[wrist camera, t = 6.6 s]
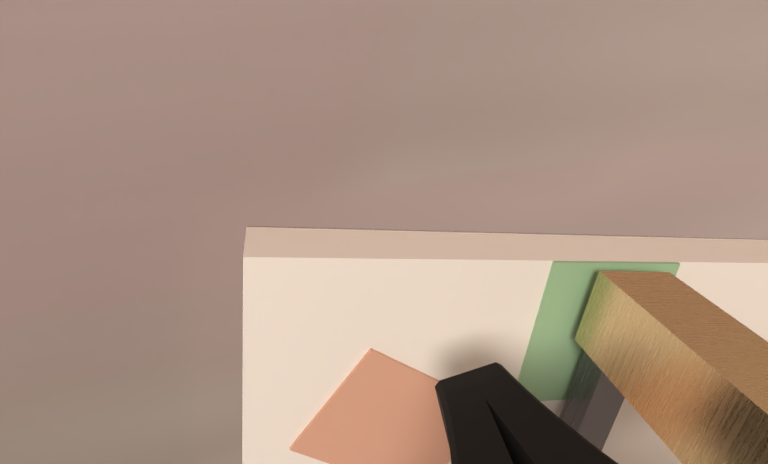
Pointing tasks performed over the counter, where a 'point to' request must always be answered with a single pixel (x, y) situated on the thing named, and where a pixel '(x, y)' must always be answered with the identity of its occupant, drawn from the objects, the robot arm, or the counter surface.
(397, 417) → the board
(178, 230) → the counter surface
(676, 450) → the wooden handled crank
